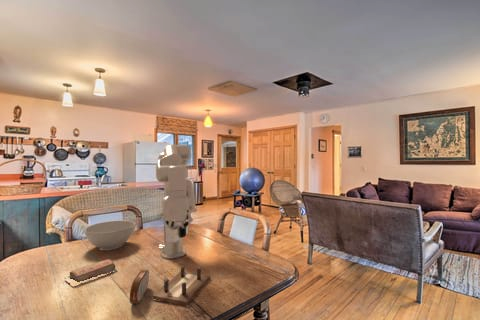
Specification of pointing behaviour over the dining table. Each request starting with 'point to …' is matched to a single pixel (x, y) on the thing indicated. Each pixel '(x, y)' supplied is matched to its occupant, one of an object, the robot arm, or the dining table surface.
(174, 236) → the steel bar
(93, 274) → the packaged product
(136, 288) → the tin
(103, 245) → the decorative bowl
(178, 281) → the peg stand
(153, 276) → the dining table surface
